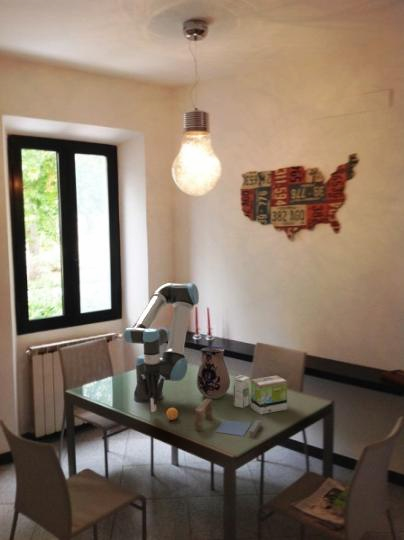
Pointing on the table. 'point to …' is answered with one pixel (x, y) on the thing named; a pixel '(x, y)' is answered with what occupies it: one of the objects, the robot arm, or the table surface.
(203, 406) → the bridge
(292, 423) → the table surface
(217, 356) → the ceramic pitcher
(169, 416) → the ball
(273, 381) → the tea box
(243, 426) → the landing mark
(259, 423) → the stopper
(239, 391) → the syrup box
